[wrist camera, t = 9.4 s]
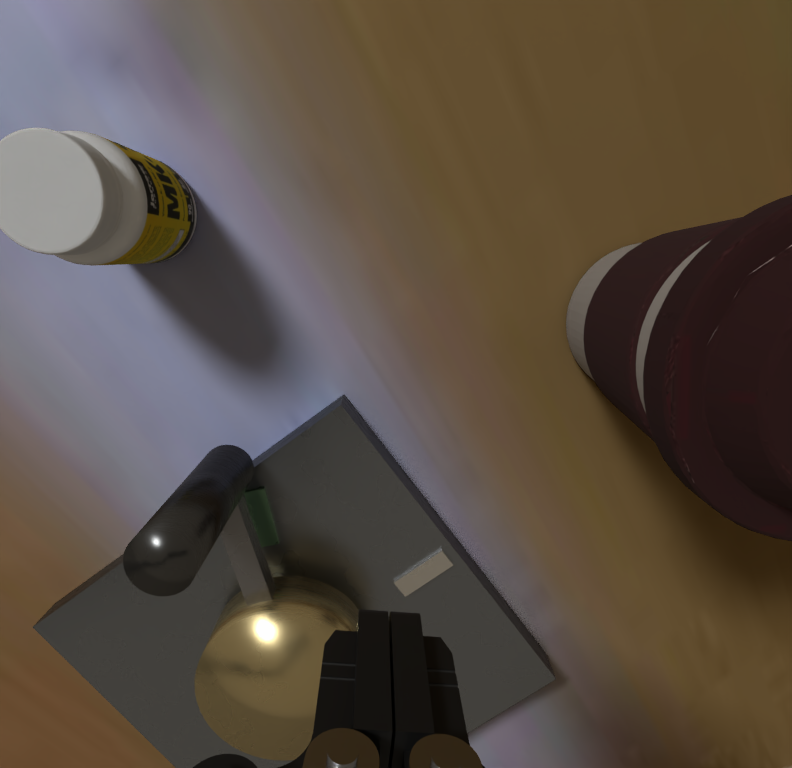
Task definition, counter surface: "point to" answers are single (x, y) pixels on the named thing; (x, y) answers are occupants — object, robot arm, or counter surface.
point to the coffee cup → (702, 356)
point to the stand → (308, 557)
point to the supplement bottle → (91, 199)
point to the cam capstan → (243, 612)
